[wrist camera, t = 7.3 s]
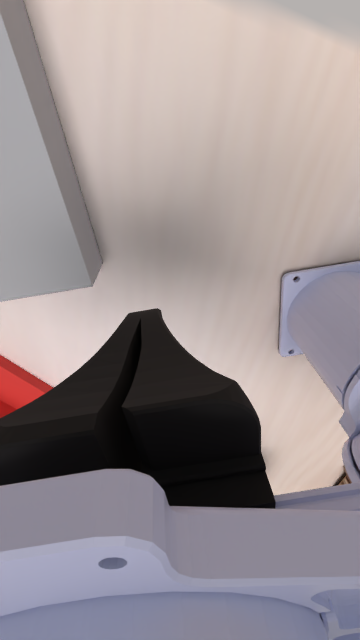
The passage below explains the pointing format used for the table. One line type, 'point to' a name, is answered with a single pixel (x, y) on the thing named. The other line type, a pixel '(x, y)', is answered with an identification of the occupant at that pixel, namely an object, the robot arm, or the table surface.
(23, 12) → the dock
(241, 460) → the robot arm
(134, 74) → the table surface
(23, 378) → the bracket
